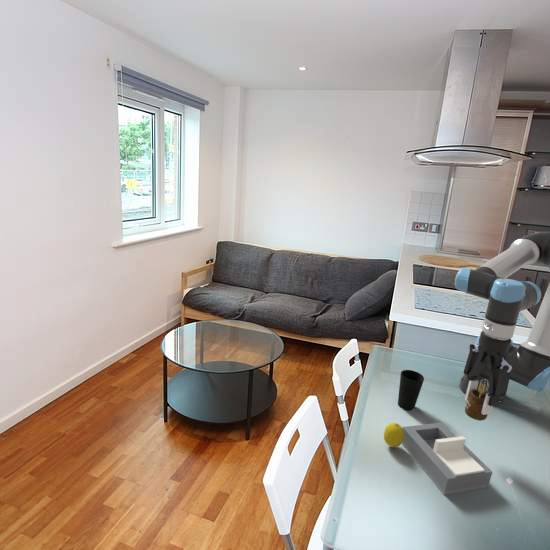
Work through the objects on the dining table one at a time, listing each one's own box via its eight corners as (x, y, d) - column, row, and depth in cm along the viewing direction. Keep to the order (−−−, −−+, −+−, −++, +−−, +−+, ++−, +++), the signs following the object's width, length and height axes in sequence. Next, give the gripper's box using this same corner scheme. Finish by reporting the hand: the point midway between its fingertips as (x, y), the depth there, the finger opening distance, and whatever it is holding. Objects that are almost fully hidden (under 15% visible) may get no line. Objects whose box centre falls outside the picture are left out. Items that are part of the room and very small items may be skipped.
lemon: (401, 443, 115) (406, 420, 113) (400, 455, 110) (405, 432, 108) (382, 438, 116) (387, 415, 114) (381, 449, 111) (385, 426, 109)
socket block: (438, 436, 120) (441, 422, 118) (487, 487, 101) (492, 471, 100) (399, 440, 116) (402, 426, 114) (443, 494, 97) (448, 478, 96)
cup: (418, 414, 130) (426, 383, 127) (395, 409, 131) (402, 379, 128) (415, 401, 137) (422, 372, 134) (393, 397, 138) (399, 368, 135)
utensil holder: (487, 414, 114) (497, 378, 110) (484, 424, 109) (494, 388, 105) (466, 406, 117) (475, 371, 113) (462, 415, 112) (471, 379, 109)
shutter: (459, 447, 108) (462, 436, 107) (484, 471, 100) (487, 459, 98) (432, 451, 105) (435, 439, 104) (455, 476, 97) (458, 464, 96)
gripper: (460, 321, 113) (445, 389, 120) (514, 351, 96) (492, 429, 102) (481, 320, 115) (464, 387, 122) (537, 350, 98) (514, 426, 104)
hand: (477, 406), depth 112 cm, fingers closed on utensil holder, 6 cm apart
